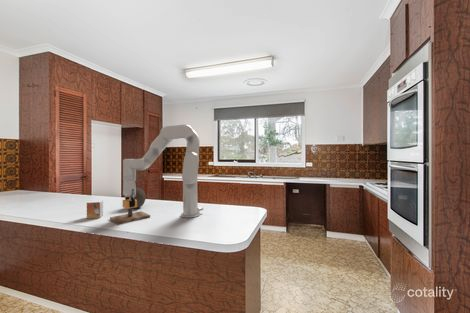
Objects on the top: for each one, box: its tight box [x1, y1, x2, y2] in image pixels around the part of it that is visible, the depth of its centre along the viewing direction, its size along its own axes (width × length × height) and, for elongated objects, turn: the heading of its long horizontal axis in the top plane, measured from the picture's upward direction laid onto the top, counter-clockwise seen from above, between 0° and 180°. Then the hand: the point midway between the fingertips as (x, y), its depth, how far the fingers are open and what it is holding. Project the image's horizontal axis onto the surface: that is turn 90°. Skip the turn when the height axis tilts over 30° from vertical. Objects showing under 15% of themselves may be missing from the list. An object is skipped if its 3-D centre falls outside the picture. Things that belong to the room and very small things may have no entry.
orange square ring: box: [122, 199, 137, 210], centre depth 143 cm, size 7×7×4 cm
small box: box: [86, 199, 104, 219], centre depth 147 cm, size 8×6×10 cm
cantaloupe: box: [129, 187, 147, 209], centre depth 171 cm, size 14×14×15 cm
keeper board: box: [109, 208, 151, 226], centre depth 143 cm, size 20×14×7 cm
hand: (130, 205), depth 143 cm, fingers closed on orange square ring, 6 cm apart
